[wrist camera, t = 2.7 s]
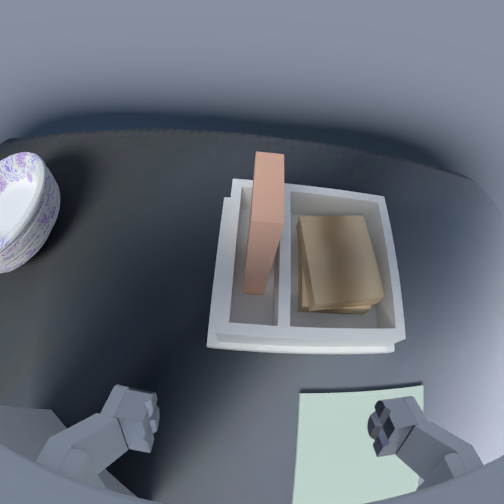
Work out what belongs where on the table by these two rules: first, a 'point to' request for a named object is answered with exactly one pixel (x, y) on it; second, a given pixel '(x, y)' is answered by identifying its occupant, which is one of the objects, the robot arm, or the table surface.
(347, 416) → the sage mat
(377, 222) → the white divided tray
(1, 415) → the brochure
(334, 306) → the offcut upper
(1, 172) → the paper bowls
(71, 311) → the table surface
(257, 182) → the terracotta board
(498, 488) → the robot arm
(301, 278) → the offcut lower
